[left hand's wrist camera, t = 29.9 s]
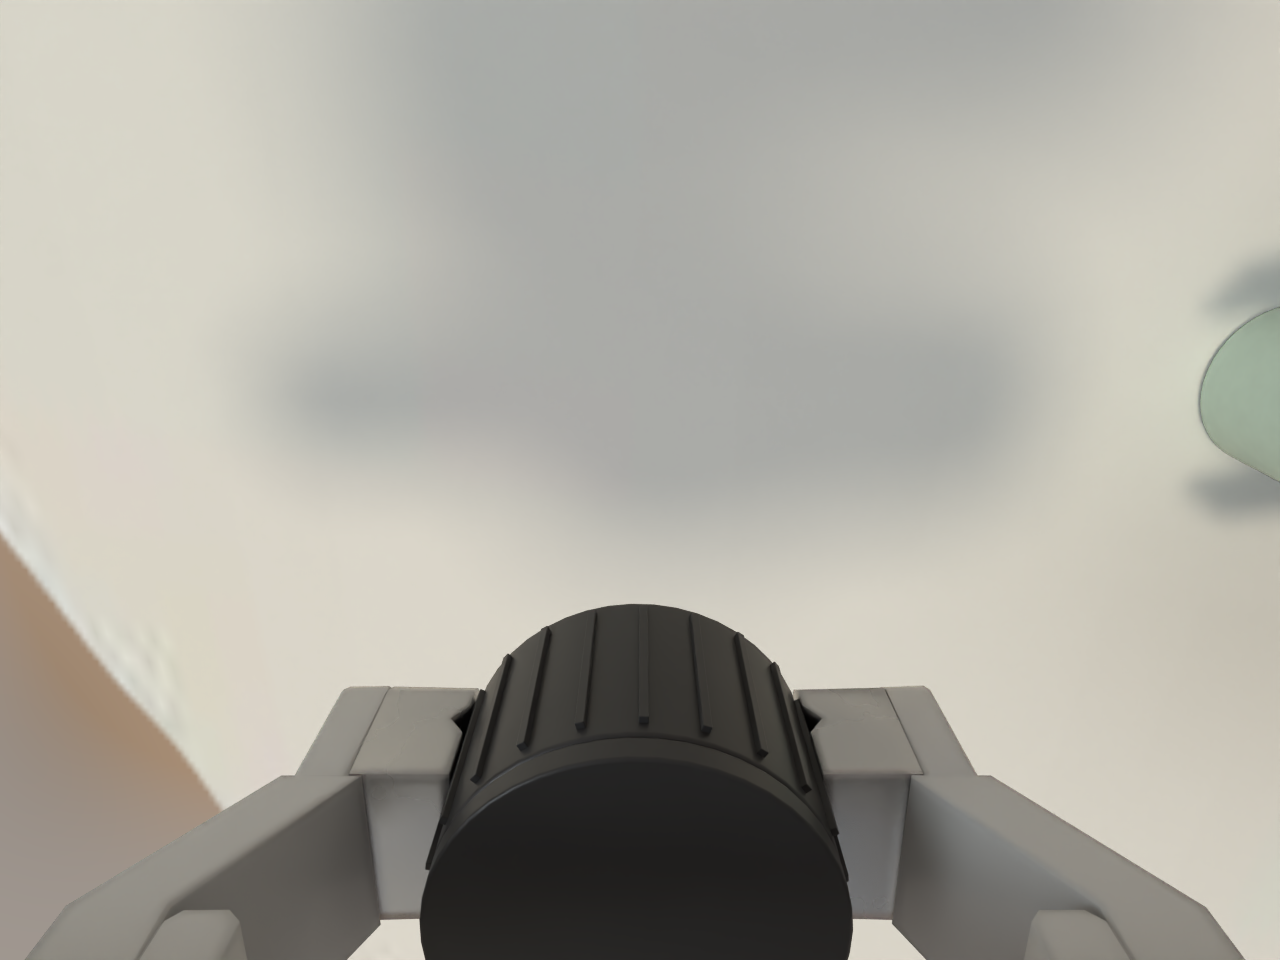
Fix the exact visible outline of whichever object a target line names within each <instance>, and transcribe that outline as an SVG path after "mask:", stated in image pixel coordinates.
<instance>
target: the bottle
mask: <svg viewBox="0 0 1280 960" xmlns="http://www.w3.org/2000/svg"><path fill="white" fill-rule="evenodd" d="M1200 406H1201V415H1202V420H1203V423H1204V426H1205V429H1206V431H1207V433H1208V435H1209V436H1210V438H1211V440H1212V441H1213V442H1214V443H1215V444H1216V446H1217V447H1219V448H1220V449H1221V450H1222V451H1223V452H1225V453H1226V454H1228V455H1230V456H1231V457H1233V458H1235V459H1237V460H1239V461H1241V462H1242V463H1244V464H1246V465H1248V466H1250V467H1252V468H1254V469H1256V470H1258V471H1260V472H1261V473H1263V474H1265V475H1267V476H1269V477H1271V478H1273V479H1275V480H1277V481H1279V482H1280V307H1279V308H1276V309H1273V310H1271V311H1268V312H1266V313H1264V314H1262V315H1260V316H1258V317H1256V318H1254V319H1253V320H1251V321H1250V322H1248V323H1247V324H1245V325H1244V326H1243V327H1241V328H1240V329H1239V330H1238V331H1236V332H1235V333H1234V334H1233V335H1232V336H1231V337H1230V338H1229V339H1228V340H1227V341H1226V342H1225V344H1224V345H1223V346H1222V347H1221V349H1220V350H1219V351H1218V353H1217V354H1216V356H1215V358H1214V359H1213V361H1212V363H1211V365H1210V367H1209V369H1208V371H1207V373H1206V376H1205V379H1204V382H1203V386H1202V391H1201V400H1200Z"/></svg>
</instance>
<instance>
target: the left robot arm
mask: <svg viewBox="0 0 1280 960" xmlns="http://www.w3.org/2000/svg"><path fill="white" fill-rule="evenodd" d="M478 693H479V689H478V688H435V687H393V688H391V687H389V686H362V687H349V688H347V689H344V690H343V691H342V692H341V694H340V696H339V697H338V699H337V701H336V703H335V704H334V706H333V708H332V710H331V712H330V713H329V715H328V717H327V719H326V721H325V722H324V724H323V726H322V728H321V730H320V731H319V733H318V735H317V737H316V738H315V740H314V742H313V744H312V746H311V747H310V749H309V751H308V753H307V755H306V756H305V758H304V760H303V762H302V763H301V765H300V767H299V769H298V771H297V772H296V774H295V776H280V777H278V778H277V779H275V780H273V781H272V782H270V783H268V784H267V785H265V786H263V787H262V788H260V789H259V790H257V791H255V792H254V793H252V794H250V795H249V796H247V797H245V798H244V799H242V800H240V801H239V802H237V803H235V804H234V805H232V806H230V807H229V808H227V809H225V810H224V811H222V812H221V813H219V814H217V815H216V816H214V817H212V818H211V819H209V820H207V821H206V822H204V823H202V824H201V825H199V826H197V827H196V828H194V829H192V830H191V831H189V832H187V833H186V834H184V835H182V836H181V837H179V838H178V839H176V840H174V841H173V842H171V843H169V844H168V845H166V846H164V847H163V848H161V849H159V850H158V851H156V852H154V853H153V854H151V855H149V856H148V857H146V858H144V859H143V860H141V861H139V862H138V863H136V864H135V865H133V866H131V867H130V868H128V869H126V870H125V871H123V872H121V873H120V874H118V875H116V876H115V877H113V878H111V879H110V880H108V881H106V882H105V883H103V884H101V885H100V886H98V887H97V888H95V889H93V890H92V891H90V892H88V893H87V894H85V895H83V896H82V897H80V898H78V899H77V900H75V901H73V902H72V903H70V904H69V905H67V906H66V907H65V908H64V909H63V911H62V912H61V913H60V914H59V916H58V917H57V918H56V920H55V921H54V922H53V924H52V925H51V926H50V928H49V929H48V930H47V931H46V933H45V934H44V935H43V937H42V938H41V939H40V941H39V942H38V943H37V944H36V946H35V947H34V948H33V950H32V951H31V952H30V954H29V955H28V956H27V958H26V959H25V960H347V959H348V958H349V957H350V956H351V955H352V954H353V953H354V952H355V951H356V950H357V948H358V947H359V946H360V945H361V944H362V943H363V942H364V941H365V940H366V939H367V938H368V937H369V936H370V935H371V934H372V933H373V932H374V931H375V930H376V929H377V928H378V927H379V926H380V925H381V924H380V920H390V919H420V910H421V900H422V895H423V892H424V888H425V884H426V881H427V877H428V874H429V870H425V865H426V861H427V857H428V854H429V851H430V848H431V844H432V841H433V838H434V835H435V831H436V828H437V825H438V822H439V818H440V816H441V813H442V809H443V806H444V803H445V800H446V796H447V793H448V790H449V786H450V783H451V780H452V777H453V773H454V770H455V767H456V764H457V760H458V757H459V754H460V751H461V747H462V744H463V741H464V738H465V734H466V731H467V728H468V725H469V721H470V718H471V715H472V712H473V708H474V705H475V702H476V699H477V695H478ZM793 698H794V700H797V699H799V703H800V706H801V710H802V713H803V714H804V716H805V719H806V721H807V725H808V728H809V731H810V735H811V736H810V740H811V744H812V747H813V750H814V754H815V757H816V760H817V763H818V767H819V770H820V773H821V777H822V780H823V782H824V784H825V787H826V790H827V793H828V796H829V800H830V803H831V807H832V810H833V814H834V817H835V820H836V824H837V827H838V831H839V834H838V835H837V836H838V840H839V843H840V847H841V850H842V854H843V857H844V861H845V864H846V867H847V871H848V874H849V882H847V885H848V889H849V894H850V899H851V904H852V915H853V919H882V920H892V924H893V925H894V926H895V927H896V928H897V929H898V930H899V931H900V932H901V934H902V935H903V936H904V937H905V938H906V939H907V940H908V941H909V942H910V943H911V944H912V945H913V946H914V947H915V948H916V949H917V950H918V951H919V953H920V954H921V955H922V956H923V957H924V958H925V959H926V960H1245V959H1244V957H1243V956H1242V955H1241V953H1240V952H1239V951H1238V949H1237V948H1236V947H1235V945H1234V944H1233V943H1232V941H1231V940H1230V939H1229V937H1228V936H1227V935H1226V933H1225V932H1224V931H1223V929H1222V928H1221V927H1220V925H1219V924H1218V923H1217V921H1216V920H1215V919H1214V917H1213V916H1212V915H1211V913H1210V912H1209V911H1208V909H1207V908H1206V907H1205V906H1203V905H1201V904H1200V903H1198V902H1196V901H1195V900H1193V899H1192V898H1190V897H1188V896H1187V895H1185V894H1183V893H1182V892H1180V891H1178V890H1177V889H1175V888H1174V887H1172V886H1170V885H1169V884H1167V883H1165V882H1164V881H1162V880H1160V879H1159V878H1157V877H1156V876H1154V875H1152V874H1151V873H1149V872H1147V871H1146V870H1144V869H1143V868H1141V867H1139V866H1138V865H1136V864H1134V863H1133V862H1131V861H1129V860H1128V859H1126V858H1125V857H1123V856H1121V855H1120V854H1118V853H1116V852H1115V851H1113V850H1111V849H1110V848H1108V847H1107V846H1105V845H1103V844H1102V843H1100V842H1098V841H1097V840H1095V839H1094V838H1092V837H1090V836H1089V835H1087V834H1085V833H1084V832H1082V831H1080V830H1079V829H1077V828H1076V827H1074V826H1072V825H1071V824H1069V823H1067V822H1066V821H1064V820H1062V819H1061V818H1059V817H1058V816H1056V815H1054V814H1053V813H1051V812H1049V811H1048V810H1046V809H1045V808H1043V807H1041V806H1040V805H1038V804H1036V803H1035V802H1033V801H1031V800H1030V799H1028V798H1027V797H1025V796H1023V795H1022V794H1020V793H1018V792H1017V791H1015V790H1013V789H1012V788H1010V787H1009V786H1007V785H1005V784H1004V783H1002V782H1000V781H999V780H997V779H996V778H994V777H992V776H978V775H977V774H976V772H975V770H974V768H973V766H972V765H971V763H970V761H969V759H968V757H967V756H966V754H965V752H964V750H963V748H962V747H961V745H960V743H959V741H958V739H957V738H956V736H955V734H954V732H953V730H952V728H951V727H950V725H949V723H948V721H947V719H946V718H945V716H944V714H943V712H942V710H941V709H940V707H939V705H938V703H937V701H936V700H935V698H934V696H933V694H932V692H931V691H930V690H929V689H928V688H926V687H925V686H904V687H881V688H851V689H805V690H794V691H793Z"/></svg>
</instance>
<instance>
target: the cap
mask: <svg viewBox="0 0 1280 960" xmlns="http://www.w3.org/2000/svg"><path fill="white" fill-rule="evenodd" d="M810 736H811V735H810V731H809V728H808V725H807V721H806V719H805V716H804V714H803V713H802V710H801V706H800V703H799V699H797V700H794V698H793V695H792V693H791V691H790V689H789V687H788V686H787V684H786V682H785V680H784V678H783V677H782V675H781V672H780V669H779V666H778V665H777V664H776V662H773V663H772V662H771V661H770V660H769V659H768V658H767V657H766V656H765V655H764V654H763V653H762V652H761V651H760V650H759V649H758V648H757V647H756V646H755V645H754V644H752V643H751V642H750V641H748V640H747V639H746V638H744V635H742V634H741V633H739V632H735V631H734V630H732V629H730V628H728V627H727V626H725V625H723V624H721V623H719V622H717V621H715V620H712V619H710V618H707V617H705V616H702V615H700V614H697V613H694V612H690V611H686V610H683V609H679V608H674V607H667V606H660V605H652V604H625V605H614V606H606V607H601V608H597V609H592V610H587V611H584V612H581V613H578V614H575V615H572V616H569V617H567V618H564V619H562V620H560V621H558V622H556V623H554V624H552V625H550V626H546V627H544V628H542V629H541V631H540V632H538V633H536V634H535V635H533V636H532V637H530V638H529V639H527V640H526V641H525V642H524V643H523V644H522V645H520V646H519V647H518V648H517V649H516V650H515V651H513V652H512V653H511V654H510V655H509V654H507V655H506V656H505V657H504V658H503V661H502V665H501V666H500V667H499V668H498V669H497V671H496V673H495V674H494V676H493V677H492V679H491V680H490V682H489V683H488V685H487V687H486V689H485V691H484V690H482V689H480V691H479V693H478V695H477V699H476V702H475V705H474V708H473V712H472V715H471V718H470V721H469V725H468V728H467V731H466V734H465V738H464V741H463V744H462V747H461V751H460V754H459V757H458V760H457V764H456V767H455V770H454V773H453V777H452V780H451V783H450V786H449V790H448V793H447V796H446V800H445V803H444V806H443V809H442V813H441V816H440V818H439V822H438V825H437V828H436V831H435V835H434V838H433V841H432V844H431V848H430V851H429V854H428V857H427V861H426V865H425V870H429V874H428V877H427V881H426V884H425V888H424V892H423V895H422V900H421V910H420V933H421V943H422V948H423V952H424V956H425V960H848V957H849V953H850V947H851V940H852V933H853V915H852V904H851V899H850V894H849V889H848V885H847V882H849V874H848V871H847V867H846V864H845V861H844V857H843V854H842V850H841V847H840V843H839V840H838V836H837V835H838V834H839V831H838V827H837V824H836V820H835V817H834V814H833V810H832V807H831V803H830V800H829V796H828V793H827V790H826V787H825V784H824V782H823V780H822V777H821V773H820V770H819V767H818V763H817V760H816V757H815V754H814V750H813V747H812V744H811V740H810Z"/></svg>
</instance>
